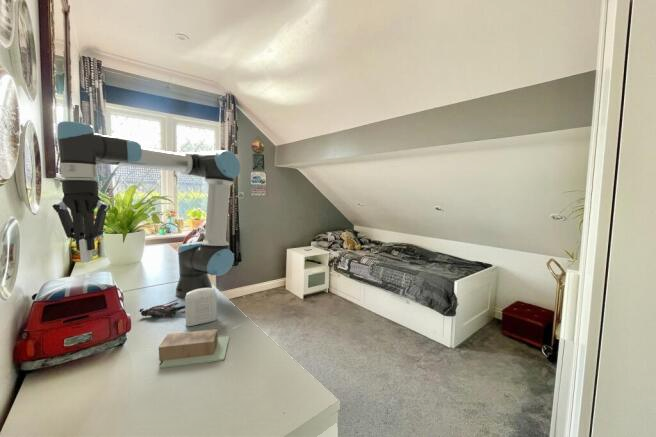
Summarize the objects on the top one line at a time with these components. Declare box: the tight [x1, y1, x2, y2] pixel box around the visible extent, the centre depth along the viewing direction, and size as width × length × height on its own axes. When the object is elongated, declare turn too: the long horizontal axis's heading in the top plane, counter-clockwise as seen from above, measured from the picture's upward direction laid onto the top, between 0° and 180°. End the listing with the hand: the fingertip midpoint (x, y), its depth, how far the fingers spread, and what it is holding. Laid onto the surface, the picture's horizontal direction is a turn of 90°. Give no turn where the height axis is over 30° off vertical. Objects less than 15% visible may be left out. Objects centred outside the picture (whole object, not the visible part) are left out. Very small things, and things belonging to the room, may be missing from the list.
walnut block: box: [158, 328, 219, 362], centre depth 79 cm, size 7×4×14 cm
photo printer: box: [184, 287, 218, 327], centre depth 97 cm, size 10×4×12 cm, turn 123°
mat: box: [159, 335, 231, 369], centre depth 80 cm, size 12×16×1 cm
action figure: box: [138, 298, 185, 319], centre depth 102 cm, size 8×6×18 cm
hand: (86, 261), depth 79 cm, fingers closed
